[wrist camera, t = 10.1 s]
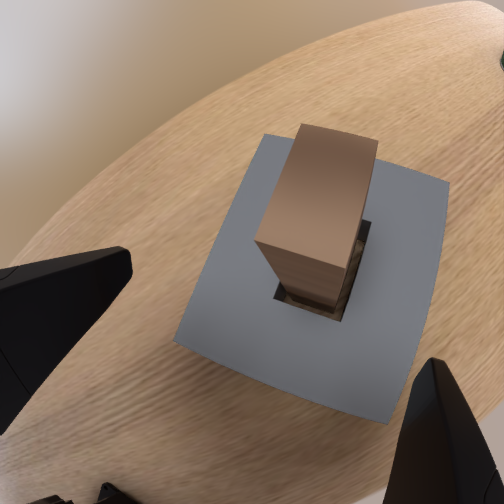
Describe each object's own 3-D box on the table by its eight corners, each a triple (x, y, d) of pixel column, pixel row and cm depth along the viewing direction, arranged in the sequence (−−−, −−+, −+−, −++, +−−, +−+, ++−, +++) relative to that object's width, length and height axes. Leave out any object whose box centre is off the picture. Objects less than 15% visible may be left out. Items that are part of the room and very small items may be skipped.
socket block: (377, 412, 17) (387, 424, 14) (195, 343, 21) (173, 340, 18) (435, 205, 20) (449, 182, 17) (272, 159, 25) (264, 133, 21)
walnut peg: (333, 314, 20) (345, 268, 9) (292, 300, 21) (253, 239, 10) (354, 247, 21) (378, 140, 10) (315, 235, 22) (301, 123, 11)
